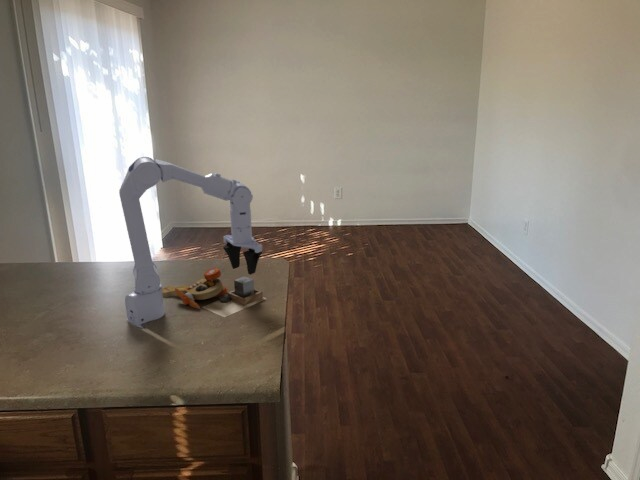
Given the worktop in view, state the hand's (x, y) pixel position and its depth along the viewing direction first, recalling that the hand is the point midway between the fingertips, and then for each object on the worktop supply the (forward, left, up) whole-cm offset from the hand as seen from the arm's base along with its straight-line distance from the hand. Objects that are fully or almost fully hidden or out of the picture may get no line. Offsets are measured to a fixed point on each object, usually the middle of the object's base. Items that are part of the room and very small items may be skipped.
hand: (243, 270), depth 148 cm
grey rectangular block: (0, 0, -9) cm, 9 cm away
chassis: (-4, 0, -10) cm, 11 cm away
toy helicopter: (-4, +15, -6) cm, 17 cm away
